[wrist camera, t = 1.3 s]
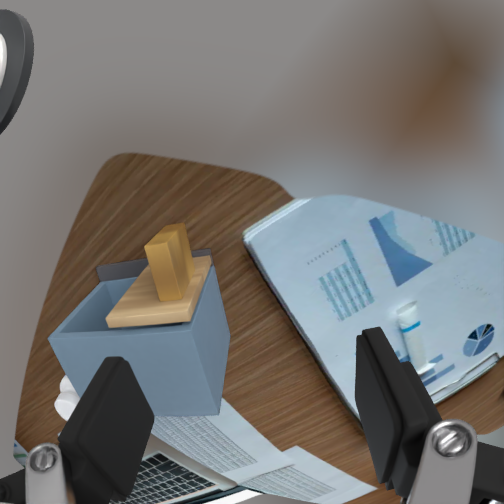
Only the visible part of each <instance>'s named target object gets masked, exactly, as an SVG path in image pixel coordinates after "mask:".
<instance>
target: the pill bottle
mask: <svg viewBox="0 0 504 504" xmlns="http://www.w3.org/2000/svg"><path fill="white" fill-rule="evenodd" d="M60 391H61V393H60V394H59V396H58V398H57V400H56V401H55V408H56V410H57V412H58V413H59V414H60V416H61V417H62V418H64V419H65V420H66V421H68V419H69V418H70V416H71V414H72V412H73V411H74V409H75V407H76V405H77V404H78V402H79V400H80V397H79V396H78V394H77V392H76V391H75V389H74V387H73V386H72V384H71V382H70V380H69V379H68V377H67V375H65V376H64V377H63V379H62V381H61V383H60Z"/></svg>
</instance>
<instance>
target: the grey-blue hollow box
mask: <svg viewBox="0 0 504 504" xmlns="http://www.w3.org/2000/svg"><path fill="white" fill-rule="evenodd" d="M191 254H192V258H195V257H201V256H208V255H210V258H211V262H212V263H211V266H210V269H209V271H208V274H207V277H206V279H205V282H204V285H203V287H202V290H201V293H200V296H199V298H198V301H197V304H196V307H195V309H194V312H193V315H192V318H191V320H190V321H188V322H178V323H167V324H156V325H143V326H130V327H116V328H109V326H108V324H107V321H106V317H107V316H108V314H109V313H110V312H111V310H112V309H113V308H114V307H115V305H116V304H117V303H118V301H119V300H120V299H121V298H122V296H123V295H124V294H125V293H126V291H127V290H128V289H129V288H130V286H131V285H132V284H133V283H134V281H135V280H136V279H137V278H138V276H139V275H140V274H141V273H142V272H143V270H144V269H145V268H146V267H147V265H148V264H149V262H148V259H147V258H143V259H137V260H130V261H124V262H118V263H111V264H105V265H99V266H97V267H96V270H97V274H98V277H99V280H100V283H99V284H98V285H97V286H96V287H95V289H94V290H93V291H92V292H91V293H90V294H89V295H88V296H87V297H86V298H85V299H84V300H83V301H82V302H81V303H80V304H79V305H78V306H77V307H76V308H75V309H74V310H73V311H72V313H71V314H70V315H69V316H68V317H67V318H66V319H65V320H64V321H63V322H62V323H61V324H60V325H59V327H58V328H57V329H56V330H55V331H54V332H53V333H52V334H51V335H50V336H49V337H48V340H49V342H50V344H51V346H52V348H53V350H54V352H55V354H56V356H57V358H58V360H59V362H60V364H61V366H62V368H63V370H64V371H65V373H66V375H67V377H68V379H69V380H70V382H71V384H72V386H73V387H74V389H75V391H76V392H77V394H78V396H79V397H80V398H81V397H82V395H83V393H84V392H85V390H86V388H87V387H88V385H89V383H90V382H91V380H92V378H93V377H94V375H95V373H96V372H97V370H98V368H99V367H100V365H101V364H102V362H103V360H104V359H105V358H106V357H110V356H121V357H123V358H124V359H125V360H127V361H128V362H129V364H130V366H131V368H132V370H133V372H134V374H135V377H136V379H137V381H138V383H139V385H140V387H141V389H142V391H143V393H144V395H145V397H146V399H147V401H148V403H149V405H150V407H151V409H152V411H153V413H154V416H215V415H219V412H220V405H221V398H222V391H223V384H224V377H225V370H226V363H227V356H228V349H229V342H230V332H229V328H228V323H227V319H226V315H225V311H224V307H223V302H222V298H221V294H220V289H219V285H218V281H217V276H216V272H215V267H214V263H213V258H212V254H211V249H210V248H207V249H201V250H194V251H191Z"/></svg>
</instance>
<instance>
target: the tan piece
mask: <svg viewBox="0 0 504 504" xmlns="http://www.w3.org/2000/svg"><path fill="white" fill-rule="evenodd" d="M144 248H145V251H146V255H147V259H148V262H149V264H148V265H147V267H146V268H145V269H144V270H143V272H142V273H141V274H140V275H139V276H138V278H137V279H136V280H135V281H134V283H133V284H132V285H131V286H130V288H129V289H128V290H127V291H126V293H125V294H124V295H123V296H122V298H121V299H120V300H119V301H118V303H117V304H116V305H115V307H114V308H113V309H112V310H111V312H110V313H109V314H108V316H107V317H106V321H107V324H108V326H109V328H116V327H130V326H143V325H156V324H167V323H178V322H188V321H190V320H191V318H192V315H193V312H194V309H195V307H196V304H197V301H198V298H199V296H200V293H201V290H202V287H203V285H204V282H205V279H206V277H207V274H208V271H209V269H210V266H211V263H212V262H211V258H210V255H208V256H201V257H195V258H192V254H191V249H190V245H189V241H188V236H187V232H186V228H185V223H178V224H172V225H166V226H165V227H164V228H163V229H162V230H161V231H160V232H158V233H157V234H156V235H155V236H154V237H153V238H152V239H151V240H150V241H149V242H148V243H147V244H146V245H145V246H144Z"/></svg>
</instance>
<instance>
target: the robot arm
mask: <svg viewBox="0 0 504 504" xmlns="http://www.w3.org/2000/svg"><path fill="white" fill-rule="evenodd" d="M6 64H7V47H6V43H5V39H4V38H3V36H2V34H0V88H1V85H2V82H3V78H4V74H5V69H6ZM355 401H356V405H357V409H358V412H359V415H360V419H361V422H362V425H363V429H364V432H365V436H366V439H367V443H368V446H369V450H370V453H371V457H372V460H373V464H374V468H375V471H376V475H377V479H378V482H379V483H380V484H381V483H385V485H386V489H387V490H391V489H395V492H396V495H399V496H401V497H402V499H401V502H400V504H504V448H500V447H496V446H492V445H489V444H485V443H482V442H478V441H477V434H476V432H475V430H474V428H473V427H472V426H471V425H470V424H469V423H467V422H465V421H463V420H458V419H447V420H444V421H443V420H442V418H441V416H440V414H439V412H438V411H437V409H436V407H435V405H434V403H433V401H432V399H431V397H430V396H429V394H428V392H427V390H426V388H425V386H424V385H423V383H422V381H421V379H420V377H419V376H418V374H417V372H416V370H415V369H414V367H413V365H412V364H411V362H409V361H406V362H402V363H400V361H399V360H398V358H397V356H396V354H395V352H394V350H393V348H392V347H391V345H390V343H389V341H388V339H387V338H386V336H385V334H384V332H383V331H382V329H381V327H375V328H370V329H365V330H363V331H362V335H358V336H357V338H356V379H355ZM153 423H154V413H153V411H152V409H151V407H150V405H149V403H148V401H147V399H146V397H145V395H144V393H143V391H142V389H141V387H140V385H139V383H138V381H137V379H136V377H135V374H134V372H133V370H132V368H131V366H130V364H129V362H128V361H127V360H125V359H124V358H123V357H121V356H110V357H106V358H105V359H104V360H103V362H102V364H101V365H100V367H99V368H98V370H97V372H96V373H95V375H94V377H93V378H92V380H91V382H90V383H89V385H88V387H87V388H86V390H85V392H84V393H83V395H82V397H81V398H80V400H79V402H78V404H77V405H76V407H75V409H74V411H73V412H72V414H71V416H70V418H69V419H68V421H67V423H66V425H65V426H64V428H63V430H62V432H61V434H60V435H59V437H58V441H59V442H60V443H59V445H58V446H57V445H55V444H53V443H42V444H39V445H37V446H36V447H34V448H33V449H32V450H31V451H30V452H29V454H28V456H27V458H26V468H24V469H22V470H20V471H18V472H16V473H13V474H11V475H9V476H6V477H4V478H2V479H0V504H109V502H110V499H112V500H116V501H122V502H125V501H126V498H127V495H130V494H131V492H132V490H133V486H134V483H135V480H136V476H137V473H138V470H139V467H140V464H141V461H142V457H143V454H144V451H145V448H146V445H147V442H148V439H149V436H150V433H151V429H152V426H153Z"/></svg>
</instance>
